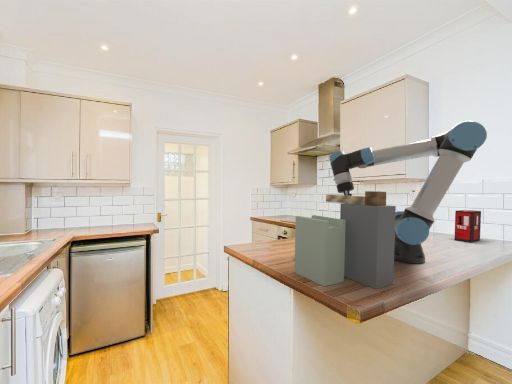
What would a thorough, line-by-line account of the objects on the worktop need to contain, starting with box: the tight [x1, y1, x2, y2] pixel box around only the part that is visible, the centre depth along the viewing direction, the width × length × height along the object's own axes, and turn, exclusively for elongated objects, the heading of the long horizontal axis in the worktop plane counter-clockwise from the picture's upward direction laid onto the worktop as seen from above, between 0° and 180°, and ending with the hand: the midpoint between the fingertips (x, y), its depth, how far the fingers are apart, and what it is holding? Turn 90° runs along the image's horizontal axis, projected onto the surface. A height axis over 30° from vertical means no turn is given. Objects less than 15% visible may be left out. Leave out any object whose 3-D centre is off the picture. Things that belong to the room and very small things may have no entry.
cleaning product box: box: [453, 209, 482, 244], centre depth 173 cm, size 16×9×20 cm, turn 124°
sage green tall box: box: [293, 214, 346, 287], centre depth 97 cm, size 16×10×22 cm, turn 31°
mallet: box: [325, 190, 387, 206], centre depth 101 cm, size 25×5×5 cm, turn 31°
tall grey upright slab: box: [339, 203, 397, 290], centre depth 96 cm, size 16×10×28 cm, turn 31°
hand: (355, 227), depth 117 cm, fingers open, 13 cm apart
